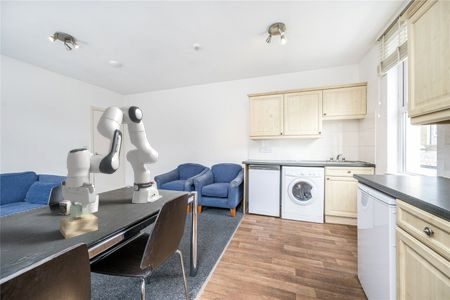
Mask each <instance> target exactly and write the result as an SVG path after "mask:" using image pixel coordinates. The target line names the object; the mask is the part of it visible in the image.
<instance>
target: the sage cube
mask: <svg viewBox="0 0 450 300" xmlns="http://www.w3.org/2000/svg"><path fill="white" fill-rule="evenodd" d="M80 208H82V203H80V202H79V203H78V204H74V205H70V214H69V217H80V216H83V215H86V214H88V205H87V207H86V211H85V212H81V211H80Z"/></svg>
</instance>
